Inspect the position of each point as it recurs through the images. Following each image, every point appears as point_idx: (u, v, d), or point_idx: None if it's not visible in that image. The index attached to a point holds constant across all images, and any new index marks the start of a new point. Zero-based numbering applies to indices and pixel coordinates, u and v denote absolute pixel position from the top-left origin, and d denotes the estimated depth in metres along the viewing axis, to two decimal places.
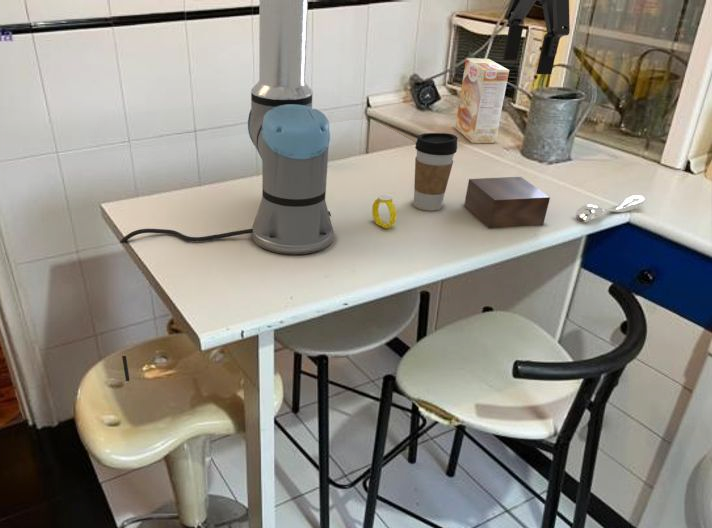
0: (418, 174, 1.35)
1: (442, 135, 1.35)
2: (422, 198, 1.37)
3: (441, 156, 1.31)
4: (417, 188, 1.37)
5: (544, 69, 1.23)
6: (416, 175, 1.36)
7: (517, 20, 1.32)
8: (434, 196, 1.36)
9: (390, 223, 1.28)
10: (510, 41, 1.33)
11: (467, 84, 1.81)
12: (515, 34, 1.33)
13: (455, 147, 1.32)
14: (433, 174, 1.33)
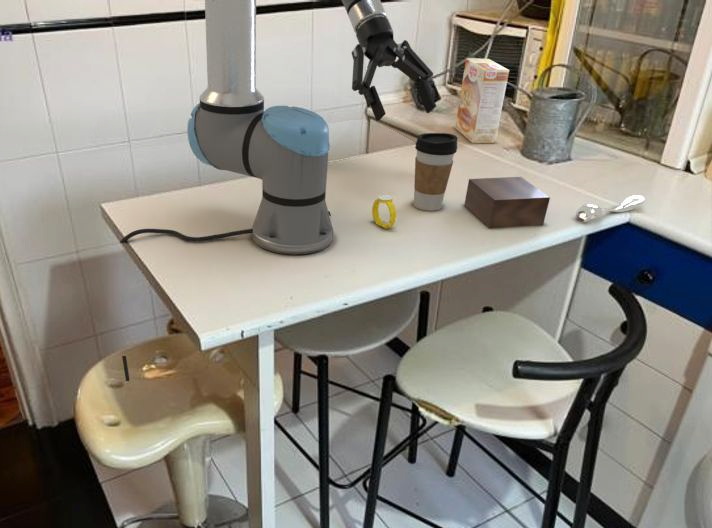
0: (418, 174, 1.35)
1: (442, 135, 1.35)
2: (422, 198, 1.37)
3: (441, 156, 1.31)
4: (417, 188, 1.37)
5: None
6: (416, 175, 1.36)
7: None
8: (434, 196, 1.36)
9: (390, 223, 1.28)
10: None
11: (467, 84, 1.81)
12: None
13: (455, 147, 1.32)
14: (433, 174, 1.33)
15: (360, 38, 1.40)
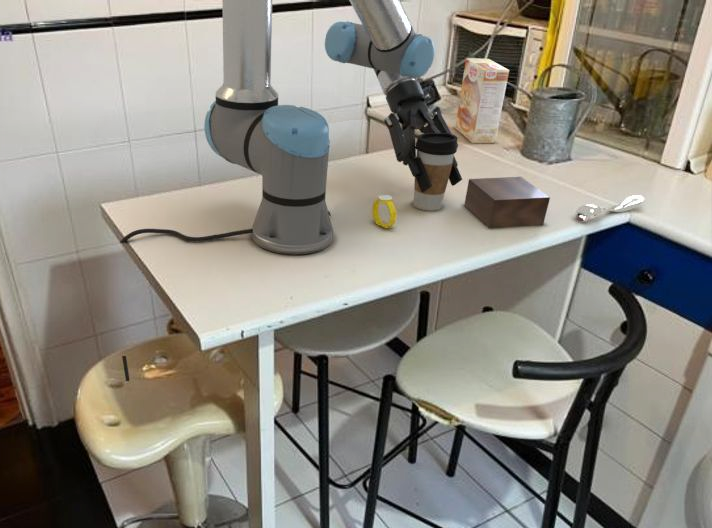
0: None
1: (442, 135, 1.35)
2: (422, 197, 1.37)
3: (441, 156, 1.31)
4: (417, 188, 1.37)
5: None
6: None
7: None
8: (434, 196, 1.36)
9: (390, 223, 1.28)
10: None
11: (467, 84, 1.81)
12: None
13: (455, 147, 1.32)
14: (433, 174, 1.33)
15: (390, 101, 1.37)
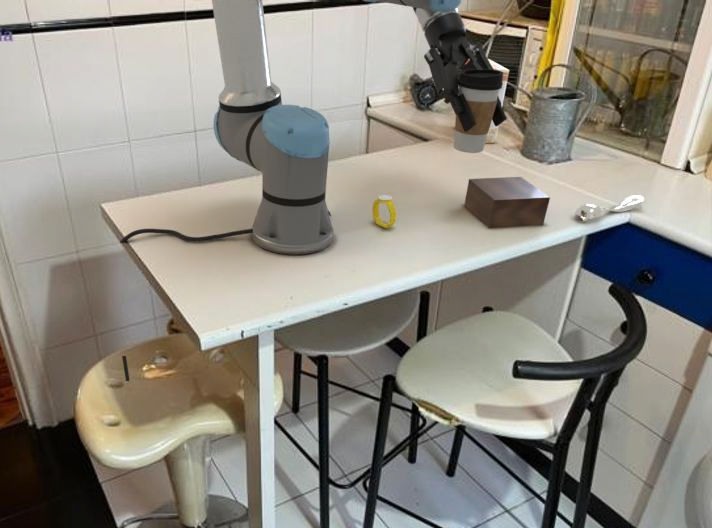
0: None
1: (486, 71, 1.27)
2: (464, 139, 1.29)
3: (486, 91, 1.23)
4: (459, 128, 1.29)
5: None
6: None
7: None
8: (477, 136, 1.28)
9: (390, 223, 1.28)
10: None
11: None
12: None
13: (501, 82, 1.24)
14: (477, 112, 1.25)
15: (430, 36, 1.28)
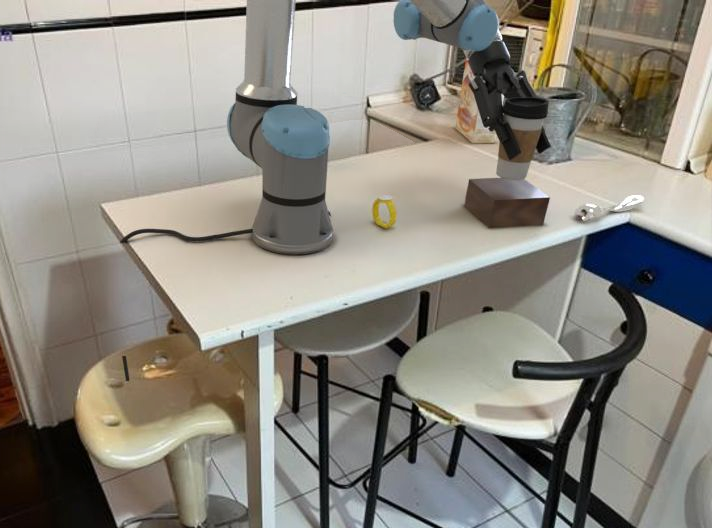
0: None
1: (530, 99, 1.27)
2: (507, 166, 1.29)
3: (532, 120, 1.23)
4: (502, 156, 1.29)
5: None
6: None
7: None
8: (521, 164, 1.28)
9: (390, 223, 1.28)
10: None
11: (467, 84, 1.81)
12: None
13: (546, 111, 1.24)
14: (522, 140, 1.25)
15: (474, 64, 1.29)
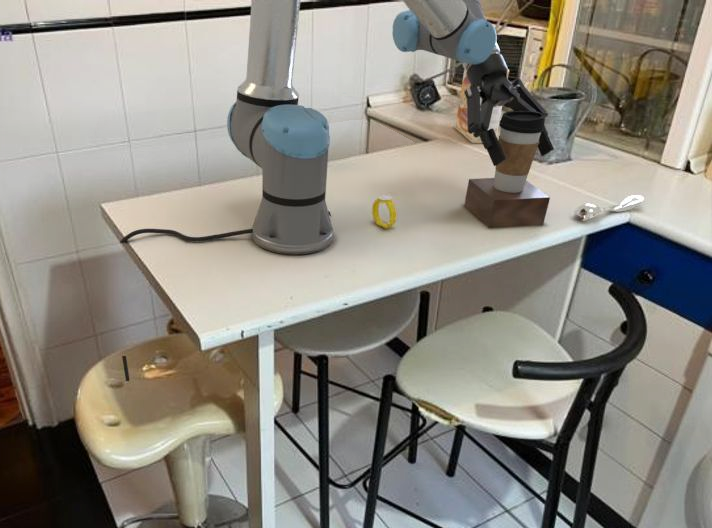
0: None
1: (527, 113, 1.29)
2: (505, 179, 1.31)
3: (529, 134, 1.25)
4: (500, 169, 1.31)
5: None
6: None
7: None
8: (518, 177, 1.30)
9: (390, 223, 1.28)
10: None
11: (467, 84, 1.81)
12: None
13: (543, 125, 1.25)
14: (519, 154, 1.27)
15: (472, 76, 1.30)
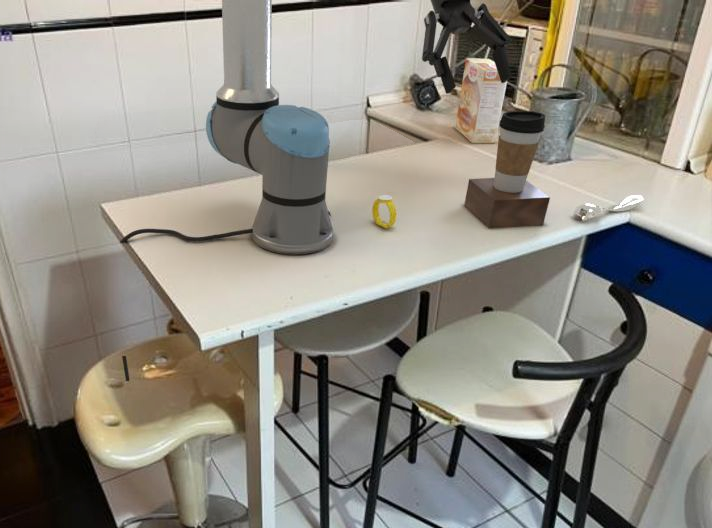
0: (502, 154, 1.29)
1: (527, 113, 1.29)
2: (505, 179, 1.31)
3: (529, 134, 1.25)
4: (500, 169, 1.31)
5: None
6: (499, 155, 1.30)
7: None
8: (518, 177, 1.30)
9: (390, 223, 1.28)
10: None
11: (467, 84, 1.81)
12: None
13: (543, 125, 1.25)
14: (519, 154, 1.27)
15: (434, 3, 1.33)
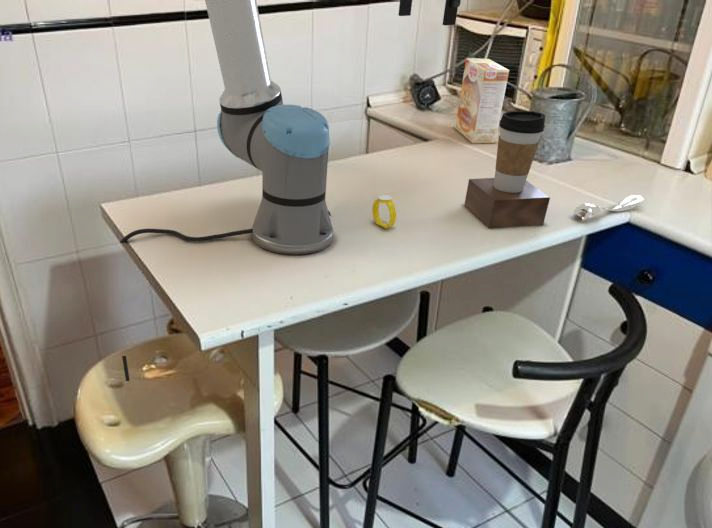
0: (502, 154, 1.29)
1: (527, 113, 1.29)
2: (505, 179, 1.31)
3: (529, 134, 1.25)
4: (500, 169, 1.31)
5: (449, 20, 1.28)
6: (499, 155, 1.30)
7: None
8: (518, 177, 1.30)
9: (390, 223, 1.28)
10: None
11: (467, 84, 1.81)
12: None
13: (543, 125, 1.25)
14: (519, 154, 1.27)
15: None
